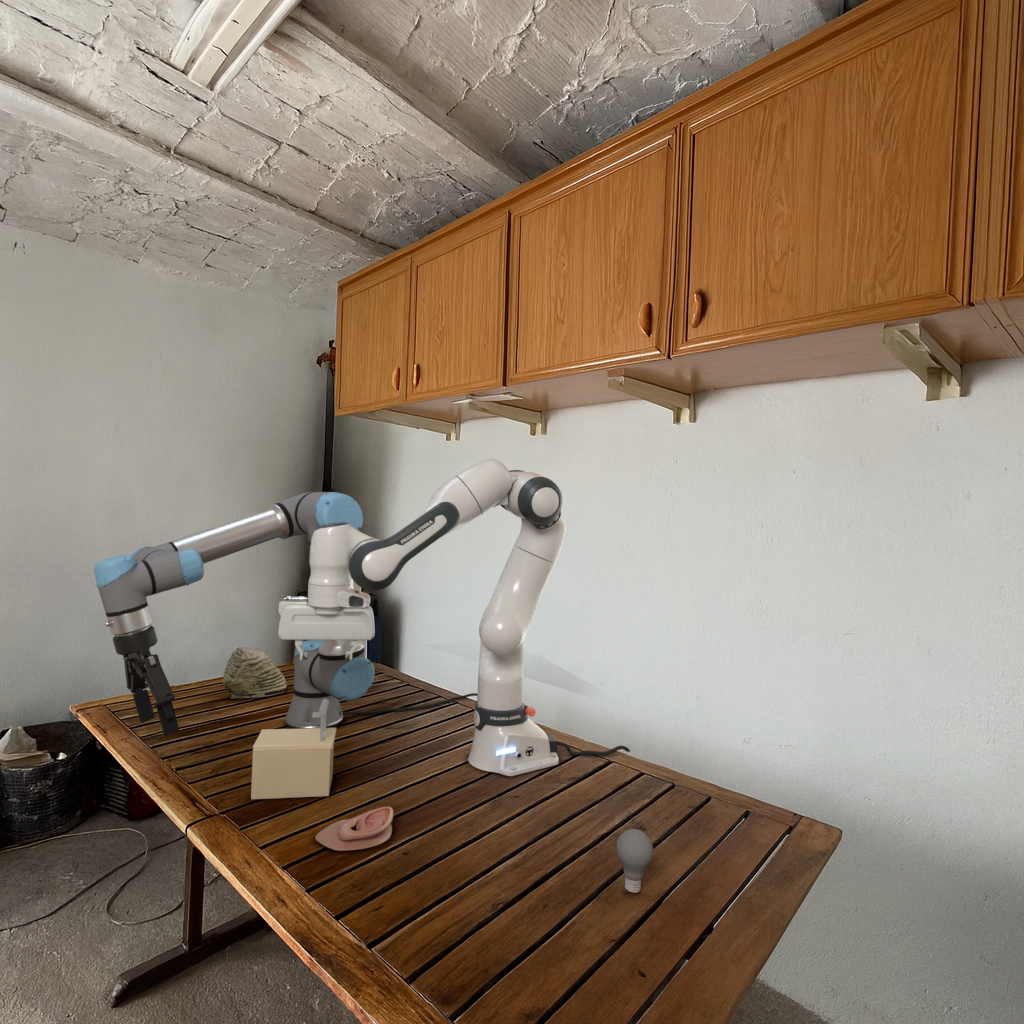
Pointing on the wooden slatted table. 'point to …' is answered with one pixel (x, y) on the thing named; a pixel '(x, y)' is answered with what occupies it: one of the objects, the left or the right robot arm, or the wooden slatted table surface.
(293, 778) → the chest
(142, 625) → the left robot arm
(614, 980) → the wooden slatted table surface
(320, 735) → the lid
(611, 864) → the wooden slatted table surface
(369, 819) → the anatomical model
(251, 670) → the fossil
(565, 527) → the right robot arm
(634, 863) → the light bulb
